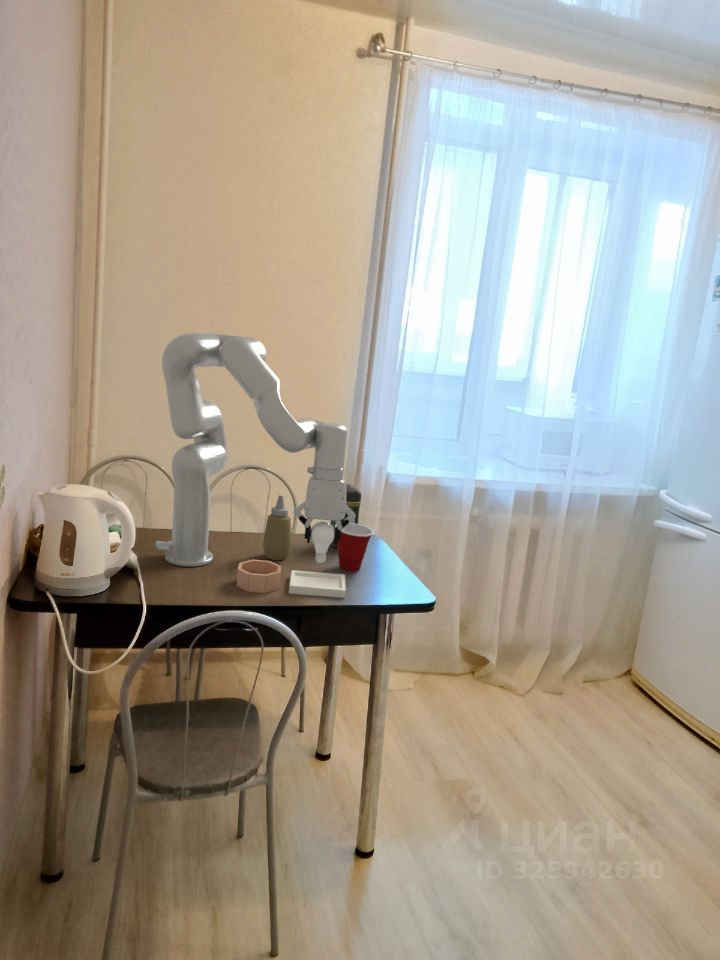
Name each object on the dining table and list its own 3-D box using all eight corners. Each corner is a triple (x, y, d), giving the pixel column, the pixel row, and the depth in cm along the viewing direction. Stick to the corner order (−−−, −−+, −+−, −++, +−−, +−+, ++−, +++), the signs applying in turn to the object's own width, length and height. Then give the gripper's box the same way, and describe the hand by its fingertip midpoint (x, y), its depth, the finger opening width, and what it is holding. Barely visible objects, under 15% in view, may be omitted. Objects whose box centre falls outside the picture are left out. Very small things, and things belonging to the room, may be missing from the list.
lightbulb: (335, 567, 182) (339, 525, 180) (311, 567, 180) (315, 525, 177) (328, 558, 188) (332, 517, 185) (304, 558, 186) (308, 517, 183)
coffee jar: (325, 539, 224) (330, 481, 220) (349, 539, 227) (355, 482, 223) (333, 550, 215) (339, 490, 211) (359, 550, 218) (365, 490, 214)
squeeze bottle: (292, 562, 201) (297, 500, 197) (263, 562, 199) (268, 499, 195) (288, 552, 209) (293, 492, 205) (260, 552, 207) (264, 491, 203)
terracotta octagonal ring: (234, 590, 178) (235, 573, 177) (239, 574, 188) (241, 558, 187) (277, 593, 179) (279, 576, 178) (280, 578, 189) (281, 561, 188)
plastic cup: (373, 576, 198) (377, 534, 195) (333, 574, 196) (338, 532, 193) (365, 562, 208) (370, 522, 205) (328, 560, 206) (332, 520, 203)
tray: (288, 593, 180) (289, 585, 179) (291, 577, 190) (291, 570, 190) (345, 597, 181) (345, 590, 180) (344, 581, 191) (344, 574, 191)
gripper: (292, 474, 175) (286, 544, 179) (363, 480, 176) (356, 550, 180) (293, 467, 182) (288, 535, 186) (362, 473, 183) (355, 540, 187)
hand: (322, 542), depth 183 cm, fingers closed on lightbulb, 6 cm apart
